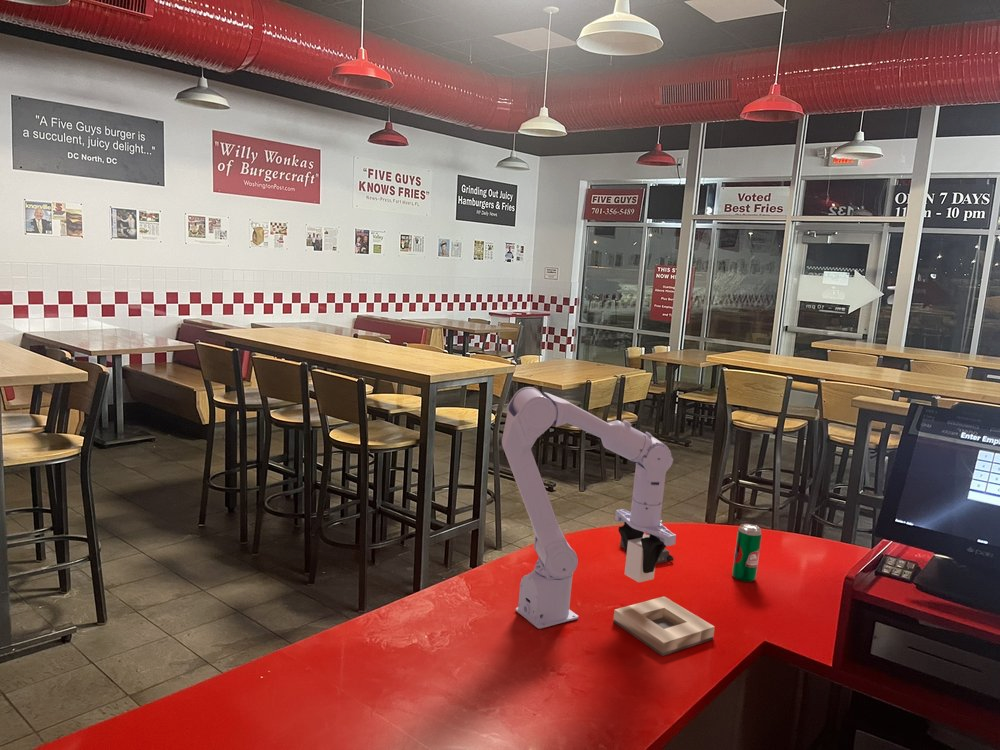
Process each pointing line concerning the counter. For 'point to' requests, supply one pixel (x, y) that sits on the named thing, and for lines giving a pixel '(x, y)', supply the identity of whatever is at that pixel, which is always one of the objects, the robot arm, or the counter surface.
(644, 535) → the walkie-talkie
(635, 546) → the white rectangular block
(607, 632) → the counter surface
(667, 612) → the holder block
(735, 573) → the soda can
